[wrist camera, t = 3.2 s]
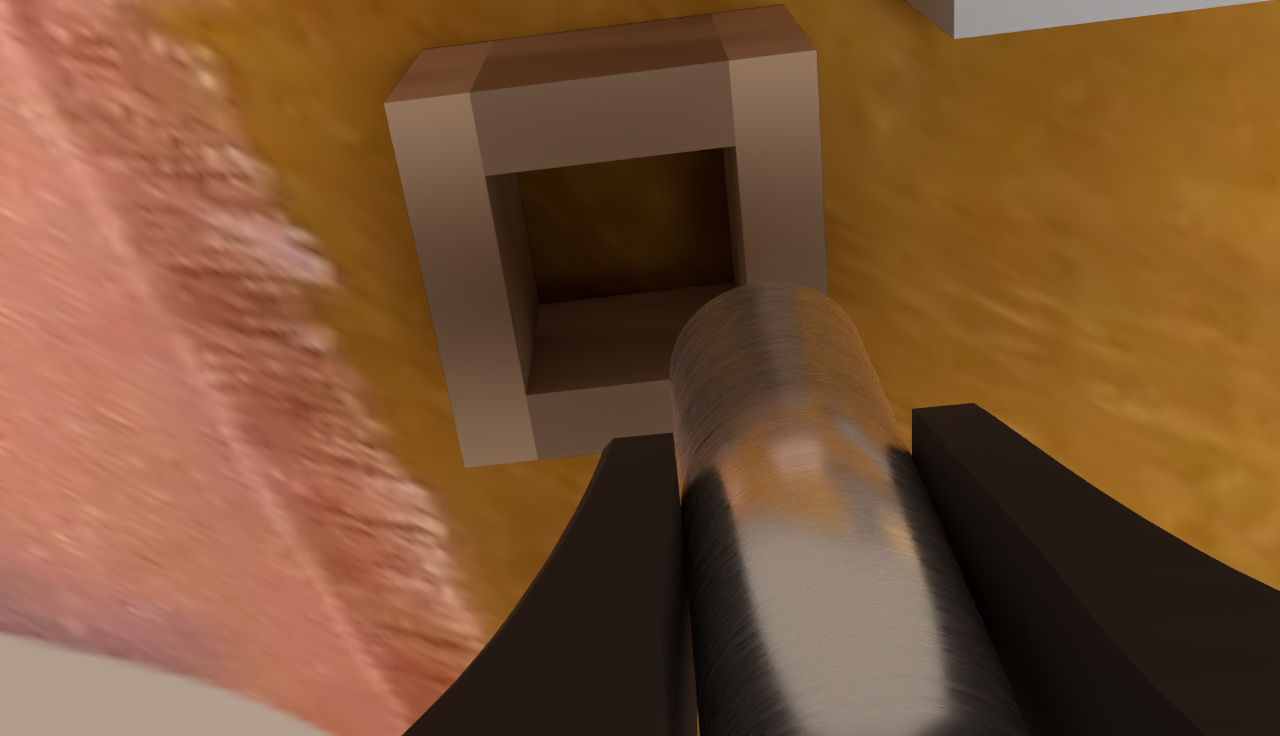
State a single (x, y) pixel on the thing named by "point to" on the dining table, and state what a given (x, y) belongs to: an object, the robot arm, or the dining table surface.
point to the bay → (1043, 13)
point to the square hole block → (581, 134)
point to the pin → (816, 538)
